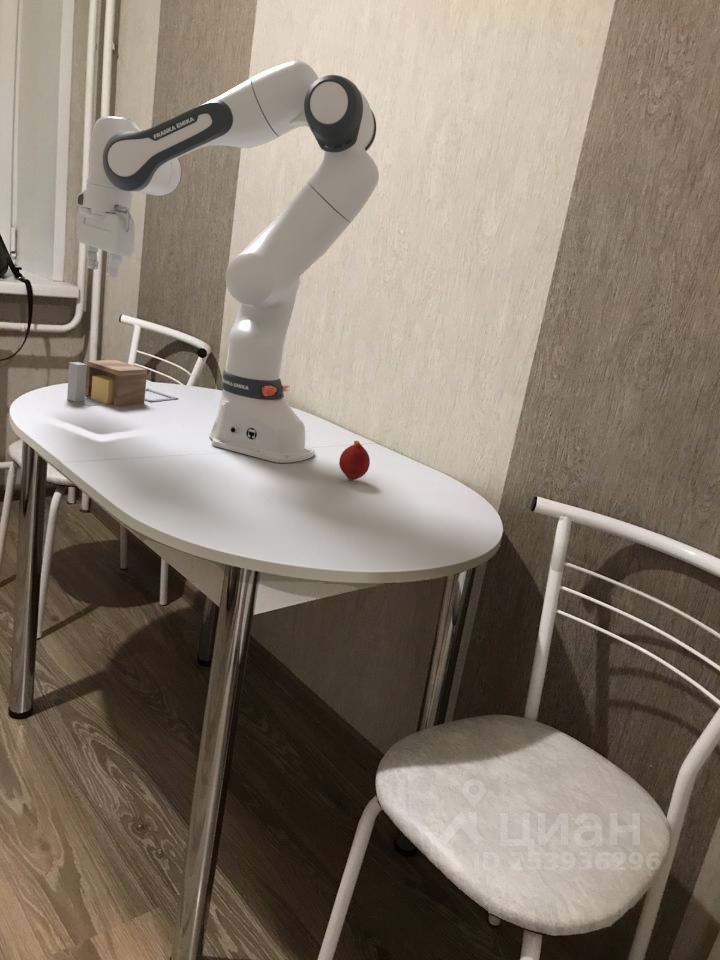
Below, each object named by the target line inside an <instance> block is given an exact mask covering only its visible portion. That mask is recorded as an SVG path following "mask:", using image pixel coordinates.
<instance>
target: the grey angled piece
mask: <svg viewBox="0 0 720 960" xmlns="http://www.w3.org/2000/svg"><path fill="white" fill-rule="evenodd" d="M86 373H87V363H86V364H85V363H84V362H83V363H82V362H80V361H75V362H74V361H73V362H72V361H71V362H68V377H67V379H68V380H67V394H66V395H67V396H66V399H67V400H68V401H71V402H73V403H77V404H79V405H83V406H86V407H89V408H90V407H96V406H97V407H99V406H105V405H106V406H108V405H114V403H104V402H101V401H98V400H95V399H92V398H91V396H88V397H86V396H85V388H86Z"/></svg>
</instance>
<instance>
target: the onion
mask: <svg viewBox="0 0 720 960" xmlns="http://www.w3.org/2000/svg"><path fill="white" fill-rule="evenodd" d="M369 455H370V454H369V452H368V451H367V450H366V449H365V447H363V445H362V444H361V443H360V441H359V440H354V441H353V445H350V446H347V447H346V448H345V449H344V450H343V451H342V452H341V454H340V457H339V461H338V463H339V464H338V465H339V469H340V470H341V472H342V473H343V474H344V475H345V476H346V478H347V479H348V481H351V482H353V481H355V480H358V479H360V478H362V477H363V476H364V475H365V474H366V473H368V470H369V467H370V463H371V459H370V456H369Z"/></svg>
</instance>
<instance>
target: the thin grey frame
mask: <svg viewBox="0 0 720 960" xmlns="http://www.w3.org/2000/svg"><path fill="white" fill-rule="evenodd" d="M145 392H149V393H150V392H151V393H153V394H156V395H160V396H162V397H165V398H156V399H150V398H146V397H145V400H144V402H148V403H157V402H159V403H160V402H168V401H175V400H179V398H178V397H176V396H172V395H170V394H166V393H164V392H160V391H157V390H153V389H151V388H146V389H145Z"/></svg>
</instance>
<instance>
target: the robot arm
mask: <svg viewBox="0 0 720 960" xmlns="http://www.w3.org/2000/svg"><path fill="white" fill-rule="evenodd" d="M300 127H301V128H302V127H308V128H309V129H310V131H311V132H312V134H313V136H314V138H315V140H316V142H317V145H318V146H319V148H320V149H321V150H322V151H324V155H323V160H322V162H321V164H320V165H319V167H318V168H316V171H315V172H314V173H313V174H312V175H311V177H310V178H309V179H308V181H306V182H305V184H304V185H303V186H302V188H301V189H300V190H298V192H297V194H295V196H294V197H293V198H292V200H291V201H290V202H289V203H288V204H287V205H286V207H285V208H284V209H283V211H282V212H281V213H280V214H278V215H277V217H276V218H275V219H274V220H273V221H272V222H270V223H269V224H268V225H267V226H266V227H265V228H264V229H263V230H262V231H261V232H259V234H258V235H257V236H256V237H254V238H253V240H251V241H250V243H249V244H247V246H245V248H244V249H243V250H242V251H241V252H240V253H239V254H237V255H236V256H235V257H233V258H232V260H230V262H229V263H228V265H227V268H226V271H225V275H224V276H225V285H226V288H227V290H228V292H229V294H230V295H231V296H232V298H233V299H234V300H235V301H237V302H238V303H239V307H238V310H237V314H236V317H235V320H234V322H233V323H234V324H233V325H232V327H231V330H230V332H229V338H228V339H229V340H228V348H227V354H226V355H227V356H226V363H225V364H226V365H225V369H224V370H223V371H222V378H221V383H220V384H221V386H220V387H221V397H220V402H219V407H218V409H217V414H216V417H215V421H214V423H213V425H212V428H211V431H210V433H209V438H210V439H211V440H212V442H211V445H212V446H214V447H218V448H221V449H224V450H230V451H232V452H236V453H240V454H242V455H248V456H250V457H255V458H258V459H262V460H266V461H269V462H274V463H282V464H283V463H295V462H300V461H304V460H307V459H308V460H309V459H310V458H312V457H313V456H314V455H315V448H313V447H311V446H309V445H307V444H306V428H305V424H304V422H303V421H302V419H300V417H299V416H298V415H297V413H295V411H294V410H293V409H292V408H291V406H290V404H289V403H287V401H286V400H285V399H284V397H285V395H284V392H288V391H289V389H288V388H289V387H290V385H283V384H282V380H281V378H280V373H281V366H282V361H283V353H284V345H285V340H286V336H287V332H288V328H289V326H290V323H291V318H292V314H293V310H294V307H295V302H296V297H297V293H298V290H299V288H300V287H299V286H300V283H301V281H300V280H301V279H300V277H301V276H302V275H303V274H304V273H305V272H306V271H308V269H309V268H310V267H311V266H313V264H314V263H315V262H316V261H318V260H319V259H320V258H321V257H322V256H324V254H325V253H326V252H327V251H328V250H329V249H330V248H331V246H333V244H334V243H335V242H336V240H338V239H339V237H340V236H341V235H342V234H343V232H345V230H346V229H347V228H348V227H349V225H350V224H351V223H352V222H353V221H354V219H355V218H357V216H358V215H359V213H360V212H361V211H362V209H363V208H364V206H365V205H366V203H367V202H368V201H369V199H370V197H371V196H372V194H373V193H374V191H375V189H376V187H377V185H378V183H379V178H380V176H379V175H380V174H379V170H378V167H377V164H376V163H375V160H374V159H373V158H372V156H370V155H369V153H368V151H369V150H370V148H371V147H372V146H373V143H374V142H375V138H376V136H377V135H376V134H377V121H376V116H375V114H374V111H373V110H372V108H371V105H370V103H369V101H368V99H367V97H366V96H365V95H364V94H363V93H362V91H361V90H359V88H358V86H357V85H356V84H355V83H354V82H352V81H351V79H348V78H347V77H344V76H342V75H337V74H328V75H324V76H321V77H319V76H318V74H317V73H316V71H315V70H314V69H313V68H312V66H311V65H309V64H307V62H305V61H303V60H292V61H288V62H285V63H281V64H279V65H275V66H273V67H270V68H269V69H266V70H263V71H262V72H260V73H257V74H256V75H254V76H252V77H251V78H249V79H246V80H245V81H243V82H241V83H240V84H238V85H236V86H235V87H233V88H231V89H229V90H228V91H226V92H223V93H222V94H220V95H218V96H217V97H214V98H212V99H209V100H208V101H207V102H205V103H203V104H201V105H198V106H195V107H193V108H190V109H187V111H184V112H182V113H179V114H177V115H175V116H173V117H171V118H168V119H166V120H164V121H163V122H160V123H158V124H157V125H154V126H151V127H150V128H147V129H145V130H141V128H139V126H138V125H137V124H136V122H135V121H134V120H131V119H130V118H127V117H120V116H116V115H115V116H110V115H109V116H103V117H100V118H98V119H97V120H96V121H95V124H94V126H93V128H92V132H91V137H90V143H89V151H88V166H89V173H88V176H87V180H86V186H85V189H84V190H83V191H82V192H80V193H79V194H77V195H76V205H77V206H78V210H77V216H76V237H77V241H78V243H79V244H82V245H85V252H86V253H85V254H86V258H87V264H86V265H87V269H91V270H98V269H99V261H98V252H99V250H102V251H104V252H107V253H109V255H108V258H109V262H108V265H106V267H105V269H106V270H105V273H106V275H107V276H109V277H118V273H119V272H118V271H119V267H120V266H121V263H122V260H123V257H130V258H131V256H133V253H134V251H135V250H134V249H135V229H136V228H135V222H134V219H133V218H132V214H131V207H132V198H133V192H138V193H142V194H144V195H145V194H146V195H151V196H160V197H161V196H167V195H170V194H172V193H173V192H174V191H176V189H177V188H178V186H179V185H180V182H181V179H182V175H183V173H182V171H183V170H182V164H181V162H180V160H179V158H181V157H183V156H186V155H187V154H190V153H192V152H194V151H197V150H199V149H203V148H205V147H211V146H223V147H224V146H225V147H226V146H227V147H234V148H240V149H241V148H242V149H251V148H254V147H259V146H261V145H265V144H268V143H270V142H272V141H274V140H276V139H278V138H280V137H282V136H283V135H285V134H287V133H289V132H291V131H293V130H295V129H298V128H300Z"/></svg>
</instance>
